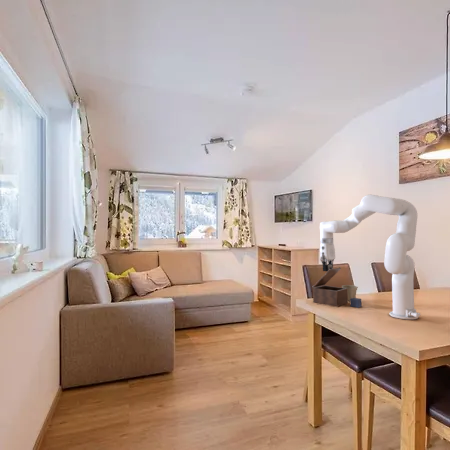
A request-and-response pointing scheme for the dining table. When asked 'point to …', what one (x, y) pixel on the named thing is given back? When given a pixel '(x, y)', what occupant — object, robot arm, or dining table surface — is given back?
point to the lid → (327, 276)
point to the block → (355, 302)
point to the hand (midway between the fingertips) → (328, 270)
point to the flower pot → (351, 291)
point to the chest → (330, 295)
